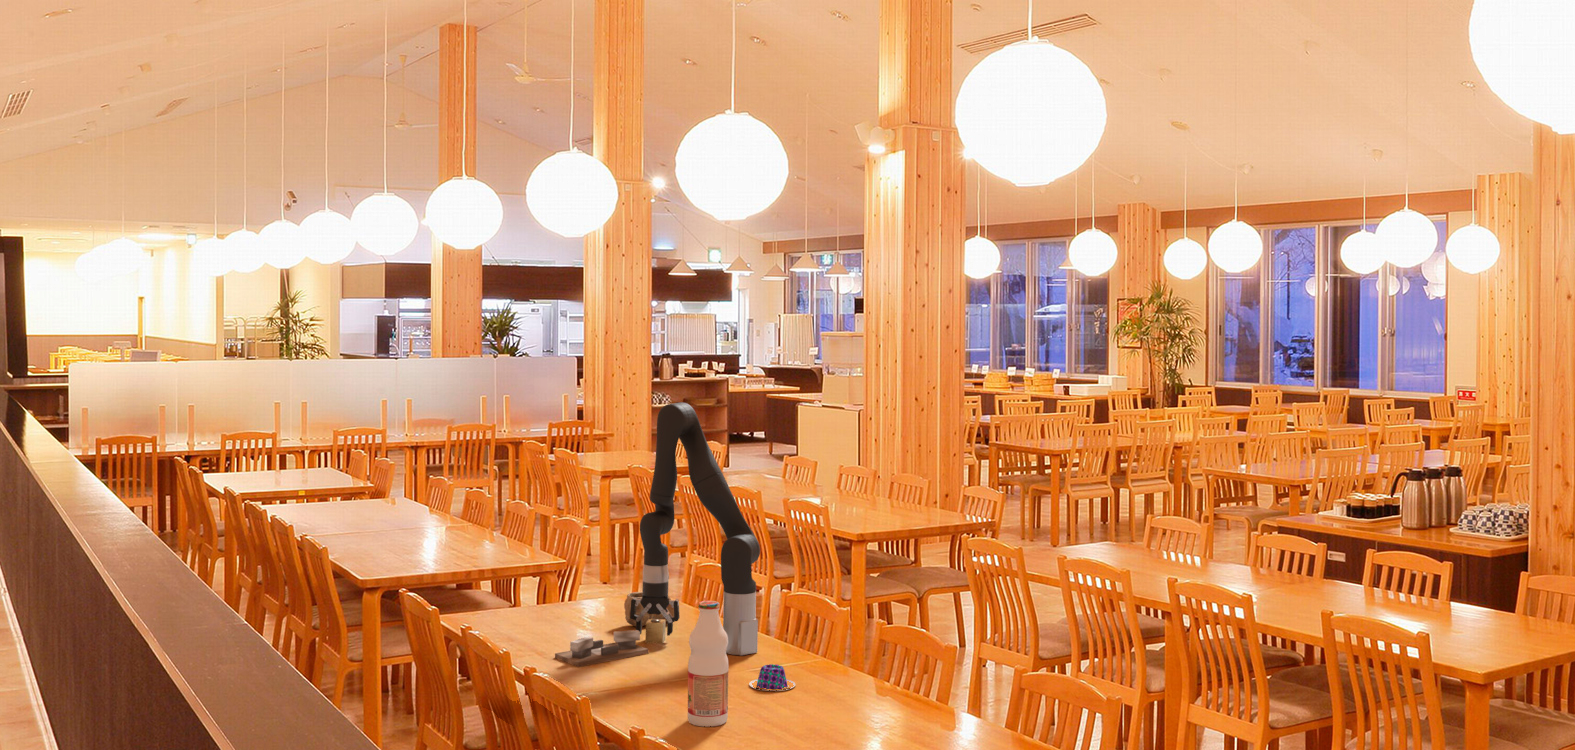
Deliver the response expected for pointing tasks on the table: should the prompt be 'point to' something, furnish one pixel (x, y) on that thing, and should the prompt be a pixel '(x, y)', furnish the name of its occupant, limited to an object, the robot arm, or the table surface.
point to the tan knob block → (655, 631)
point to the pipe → (640, 608)
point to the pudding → (772, 678)
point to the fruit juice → (708, 669)
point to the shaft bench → (602, 649)
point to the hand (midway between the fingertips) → (654, 634)
